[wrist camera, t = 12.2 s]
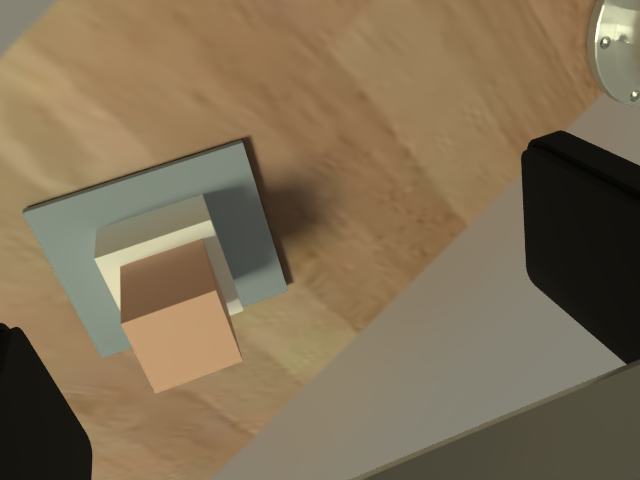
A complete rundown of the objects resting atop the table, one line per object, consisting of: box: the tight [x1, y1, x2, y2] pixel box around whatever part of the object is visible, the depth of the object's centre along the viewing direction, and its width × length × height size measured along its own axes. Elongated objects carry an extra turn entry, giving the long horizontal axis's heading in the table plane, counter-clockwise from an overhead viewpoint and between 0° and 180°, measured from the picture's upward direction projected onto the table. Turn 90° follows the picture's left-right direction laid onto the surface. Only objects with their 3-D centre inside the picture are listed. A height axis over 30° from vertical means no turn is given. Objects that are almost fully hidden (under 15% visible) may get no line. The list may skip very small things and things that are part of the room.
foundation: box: [22, 140, 288, 358], centre depth 39 cm, size 14×12×5 cm
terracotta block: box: [120, 239, 243, 393], centre depth 34 cm, size 5×5×6 cm
